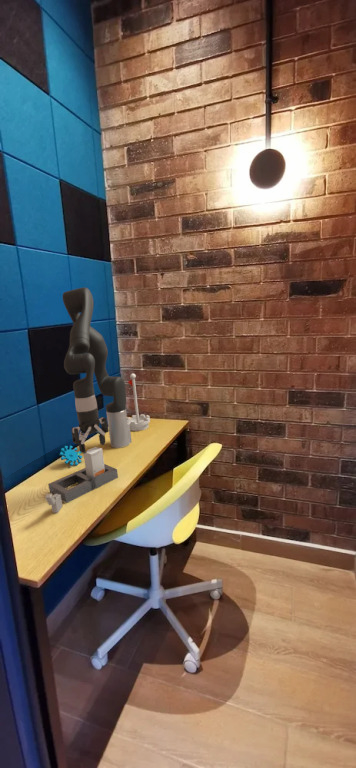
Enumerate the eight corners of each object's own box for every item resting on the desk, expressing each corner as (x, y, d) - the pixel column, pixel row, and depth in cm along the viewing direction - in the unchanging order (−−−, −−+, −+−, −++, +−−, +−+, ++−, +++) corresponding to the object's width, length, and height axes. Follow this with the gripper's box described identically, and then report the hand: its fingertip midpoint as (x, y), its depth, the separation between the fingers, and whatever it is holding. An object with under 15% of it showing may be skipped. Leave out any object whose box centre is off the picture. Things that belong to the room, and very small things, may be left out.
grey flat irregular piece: (57, 506, 118) (54, 484, 117) (62, 505, 118) (59, 484, 116) (48, 518, 111) (44, 495, 110) (53, 518, 111) (49, 495, 110)
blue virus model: (68, 466, 144) (56, 447, 148) (62, 474, 147) (50, 455, 150) (88, 459, 153) (77, 441, 157) (82, 467, 156) (71, 449, 160)
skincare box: (94, 483, 132) (90, 454, 129) (87, 481, 134) (82, 452, 131) (106, 476, 136) (102, 448, 134) (98, 474, 139) (94, 446, 136)
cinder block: (100, 469, 143) (99, 461, 142) (118, 477, 135) (117, 469, 134) (49, 492, 128) (48, 483, 127) (66, 503, 120) (65, 493, 119)
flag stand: (155, 425, 191) (150, 372, 185) (137, 433, 182) (131, 376, 176) (139, 422, 200) (133, 370, 194) (121, 429, 191) (115, 375, 184)
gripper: (96, 401, 136) (102, 440, 140) (64, 411, 126) (71, 453, 130) (108, 403, 131) (114, 443, 135) (75, 414, 121) (82, 458, 125)
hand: (93, 448), depth 132 cm, fingers open, 8 cm apart
